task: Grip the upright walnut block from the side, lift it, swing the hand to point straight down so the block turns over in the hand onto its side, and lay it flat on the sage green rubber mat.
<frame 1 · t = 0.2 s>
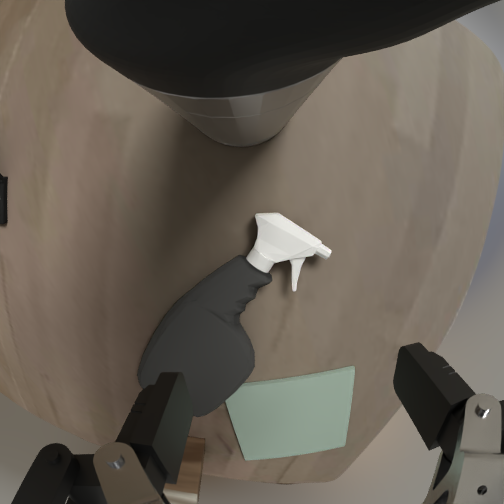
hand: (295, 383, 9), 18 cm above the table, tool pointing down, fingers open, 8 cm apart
rubber mat: (292, 421, 33), on the table
spray bottle: (223, 321, 28), on the table, touching rubber mat
walnut block: (188, 443, 35), on the table
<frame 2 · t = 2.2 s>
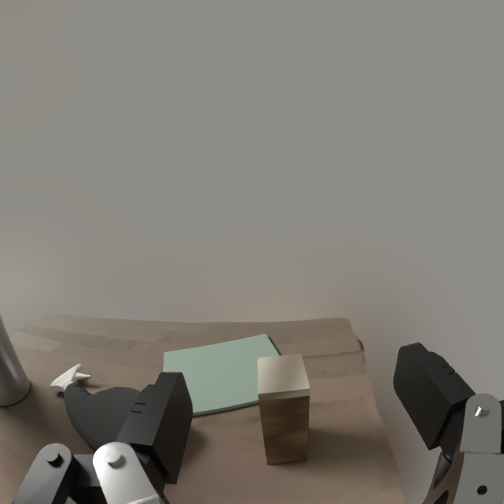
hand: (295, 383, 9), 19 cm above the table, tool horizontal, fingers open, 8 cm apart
rubber mat: (223, 373, 39), on the table
spray bottle: (103, 413, 29), on the table, touching rubber mat
walnut block: (285, 445, 25), on the table
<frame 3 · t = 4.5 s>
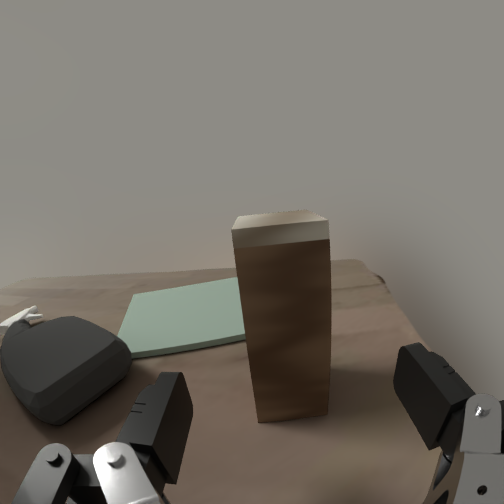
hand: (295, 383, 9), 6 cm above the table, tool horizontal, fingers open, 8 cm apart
rubber mat: (202, 310, 31), on the table
spray bottle: (43, 354, 21), on the table, touching rubber mat
walnut block: (289, 392, 16), on the table
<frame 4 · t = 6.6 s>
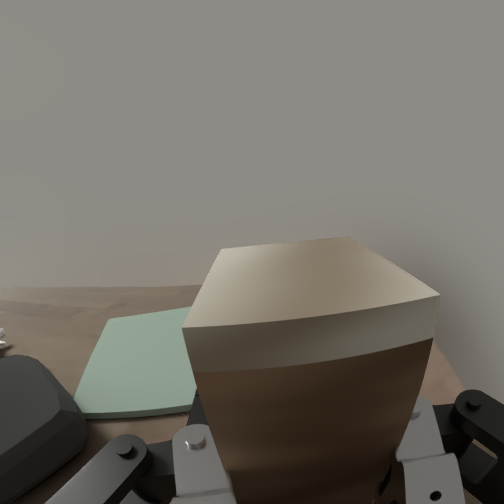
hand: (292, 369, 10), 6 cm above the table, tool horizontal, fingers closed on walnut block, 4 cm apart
rubber mat: (187, 348, 23), on the table
spray bottle: (1, 395, 14), on the table, touching rubber mat
walnut block: (300, 496, 9), on the table, touching gripper
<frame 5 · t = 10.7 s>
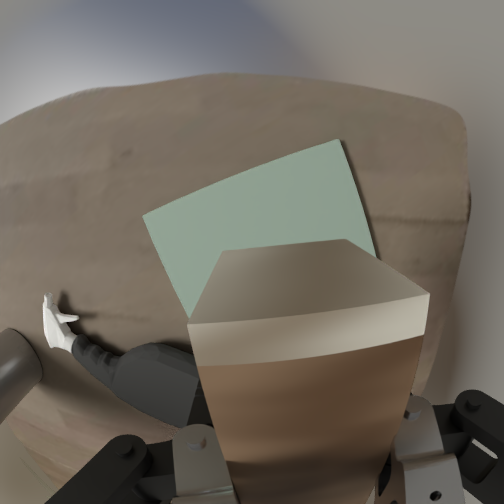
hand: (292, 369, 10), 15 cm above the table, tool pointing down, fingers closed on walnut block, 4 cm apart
rubber mat: (272, 261, 25), on the table
spray bottle: (136, 362, 27), on the table, touching rubber mat
walnut block: (299, 493, 9), point 17 cm above the table, tilted 90°, touching gripper
when the fingers open (2 cm above the table, at t = 13.5 s): walnut block drops 1 cm, resting on rubber mat.
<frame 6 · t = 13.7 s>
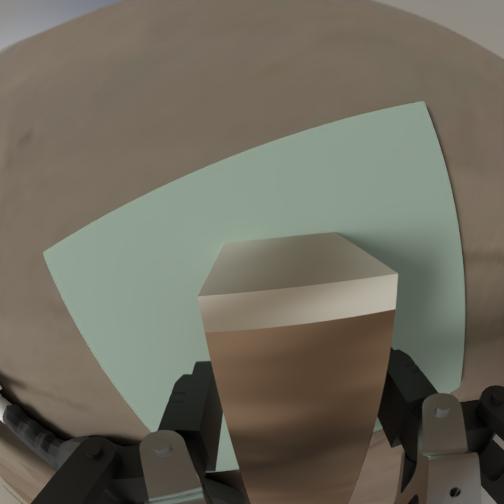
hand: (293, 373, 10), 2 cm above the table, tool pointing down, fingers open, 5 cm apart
rubber mat: (287, 344, 12), on the table
spray bottle: (84, 448, 15), on the table, touching rubber mat
walnut block: (297, 474, 10), point 3 cm above the table, tilted 90°, touching rubber mat
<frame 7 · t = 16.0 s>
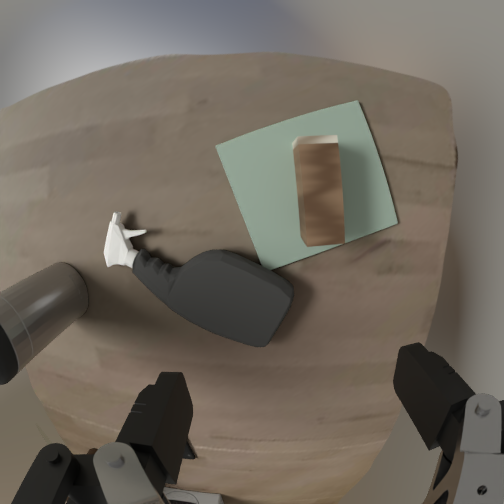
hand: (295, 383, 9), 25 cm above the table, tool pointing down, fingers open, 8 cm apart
rubber mat: (312, 183, 32), on the table
cereal box: (183, 493, 52), on the table
spray bottle: (192, 275, 35), on the table, touching rubber mat
walnut block: (321, 240, 30), point 3 cm above the table, tilted 90°, touching rubber mat
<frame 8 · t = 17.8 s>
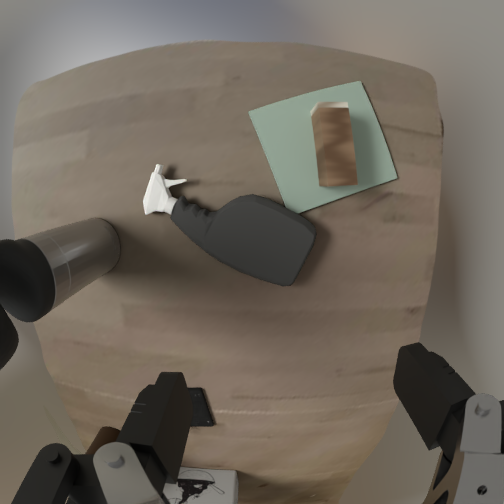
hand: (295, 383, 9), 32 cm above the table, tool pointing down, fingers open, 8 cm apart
rubber mat: (327, 143, 37), on the table
cereal box: (196, 473, 55), on the table
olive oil: (117, 437, 53), on the table
spray bottle: (225, 220, 40), on the table, touching rubber mat
walnut block: (337, 185, 36), point 3 cm above the table, tilted 90°, touching rubber mat
handheld gaming console: (186, 405, 49), on the table
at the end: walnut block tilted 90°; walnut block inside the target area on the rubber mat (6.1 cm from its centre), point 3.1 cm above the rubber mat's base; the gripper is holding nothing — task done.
